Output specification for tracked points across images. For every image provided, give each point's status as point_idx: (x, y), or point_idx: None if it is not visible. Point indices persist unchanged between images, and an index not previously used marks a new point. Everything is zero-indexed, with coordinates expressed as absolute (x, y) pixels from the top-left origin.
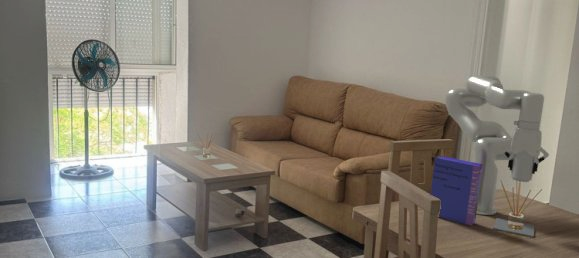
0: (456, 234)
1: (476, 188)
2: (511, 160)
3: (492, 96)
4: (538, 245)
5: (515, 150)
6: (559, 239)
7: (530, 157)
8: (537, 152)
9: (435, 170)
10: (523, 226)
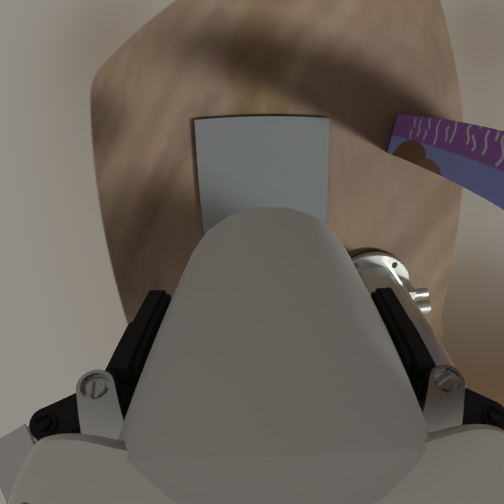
0: (415, 18)
1: (478, 140)
2: (425, 359)
3: None
4: (176, 55)
5: (475, 489)
6: (126, 163)
7: (147, 429)
8: (26, 497)
9: None
10: (234, 202)
